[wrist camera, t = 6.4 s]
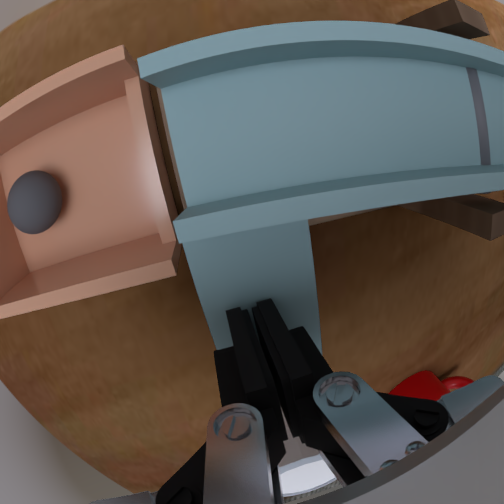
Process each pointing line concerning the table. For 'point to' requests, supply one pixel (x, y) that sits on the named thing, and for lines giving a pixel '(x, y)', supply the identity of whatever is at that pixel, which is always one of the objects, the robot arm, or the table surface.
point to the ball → (34, 202)
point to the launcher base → (444, 209)
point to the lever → (316, 145)
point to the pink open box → (87, 186)
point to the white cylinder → (302, 467)
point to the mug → (429, 386)
